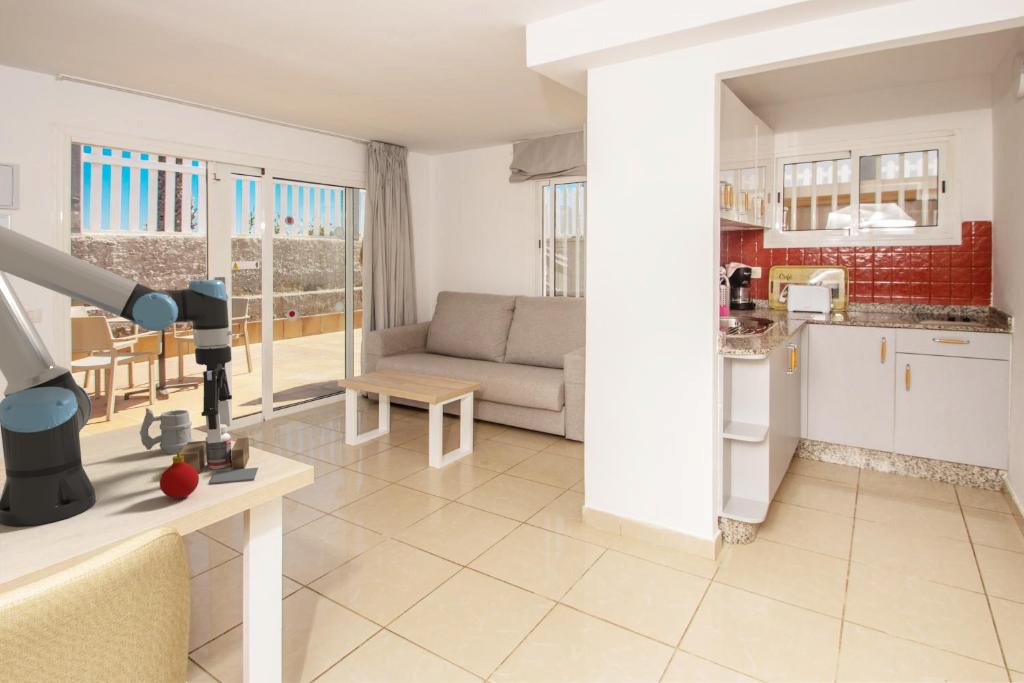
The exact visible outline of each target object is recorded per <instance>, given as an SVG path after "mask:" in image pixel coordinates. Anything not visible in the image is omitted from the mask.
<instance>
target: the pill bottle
mask: <svg viewBox="0 0 1024 683" xmlns="http://www.w3.org/2000/svg"><path fill="white" fill-rule="evenodd" d="M220 427H221V439H222V442H217V443H208V437H207V436H205V441H206V456H207V462H206V466H207V467H206V468H208V469H213V470H218V469H220V470H221V469H225V468H227V467H230V466H231V465H232V453H231V450H232V442H231V440H232V439H231V435H230V434H229V433H227V432H228V427H227V425H225V424H220Z"/></svg>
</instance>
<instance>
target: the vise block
mask: <svg viewBox="0 0 1024 683" xmlns="http://www.w3.org/2000/svg"><path fill="white" fill-rule="evenodd" d="M179 455H183V456H184V462H185V463H186V464H188V465H190V466H192V467H193V468H195V470H196V471H197V473H198V475H200V474H201V472H202V470H203V469H204V467H205V465H207V456H206V440H197V441H196V440H194V442H188V443H187V444H186V445H185V447H184V448H183V449H182V451H181V452H180V453H179ZM231 456H232V464H231V465H232V468H231V470H235V469H246V467H247V464H248V461H249V459H250V443H249V437H239V438H236V440H235V443H234V444H233V446H232V447H231Z"/></svg>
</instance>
